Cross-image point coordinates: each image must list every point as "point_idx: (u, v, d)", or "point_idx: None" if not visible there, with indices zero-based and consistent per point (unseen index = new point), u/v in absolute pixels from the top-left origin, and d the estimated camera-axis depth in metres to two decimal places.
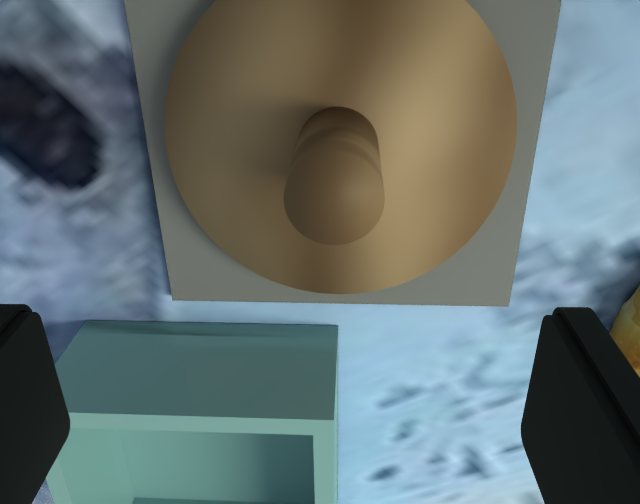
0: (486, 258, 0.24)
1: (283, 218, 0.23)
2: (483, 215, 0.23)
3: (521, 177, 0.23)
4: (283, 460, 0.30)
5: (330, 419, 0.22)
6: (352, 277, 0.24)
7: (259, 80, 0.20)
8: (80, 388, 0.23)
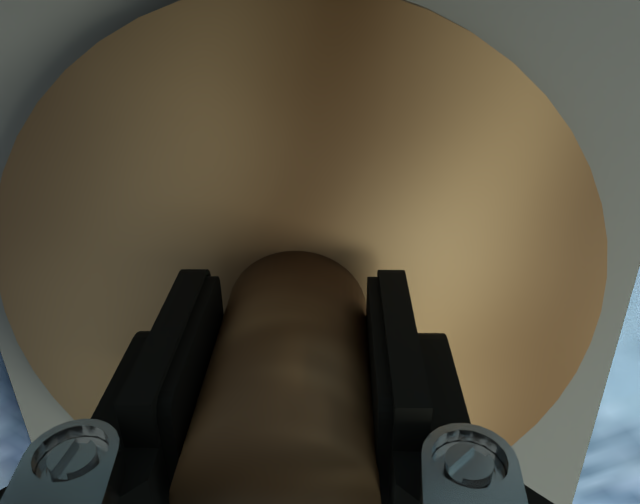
0: (537, 455, 0.15)
1: None
2: (541, 408, 0.14)
3: (601, 345, 0.14)
4: None
5: None
6: None
7: (154, 208, 0.12)
8: None
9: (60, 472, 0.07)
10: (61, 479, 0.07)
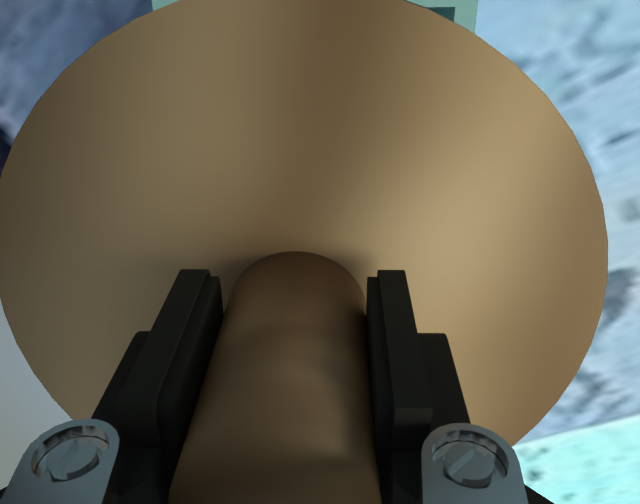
0: None
1: None
2: (541, 409, 0.14)
3: None
4: None
5: None
6: None
7: (154, 209, 0.11)
8: None
9: (60, 472, 0.07)
10: (61, 479, 0.07)
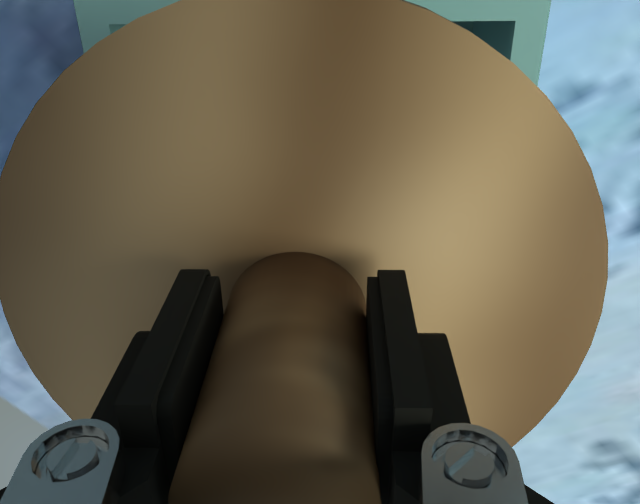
0: None
1: None
2: (541, 409, 0.14)
3: None
4: None
5: None
6: None
7: (154, 210, 0.11)
8: None
9: (60, 472, 0.07)
10: (61, 479, 0.07)
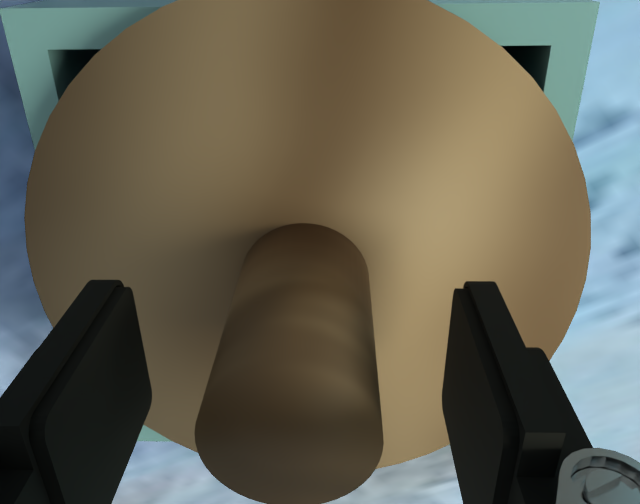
0: None
1: None
2: None
3: None
4: None
5: (591, 2, 0.11)
6: None
7: (174, 184, 0.13)
8: (106, 2, 0.13)
9: None
10: None
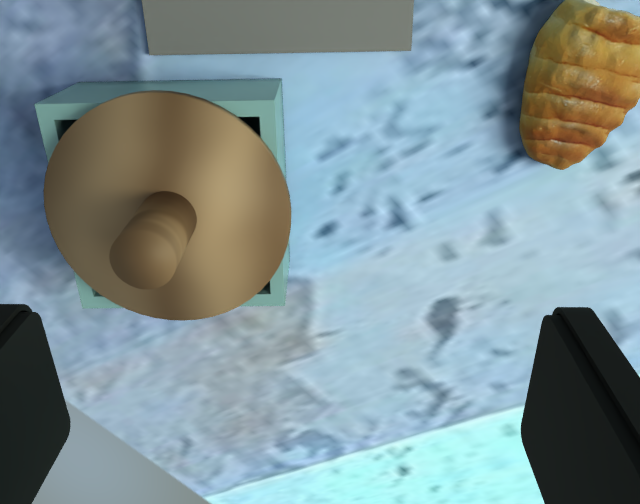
0: (390, 5, 0.32)
1: None
2: (278, 261, 0.32)
3: None
4: None
5: (271, 100, 0.29)
6: (192, 307, 0.33)
7: (108, 174, 0.30)
8: (78, 98, 0.30)
9: None
10: None
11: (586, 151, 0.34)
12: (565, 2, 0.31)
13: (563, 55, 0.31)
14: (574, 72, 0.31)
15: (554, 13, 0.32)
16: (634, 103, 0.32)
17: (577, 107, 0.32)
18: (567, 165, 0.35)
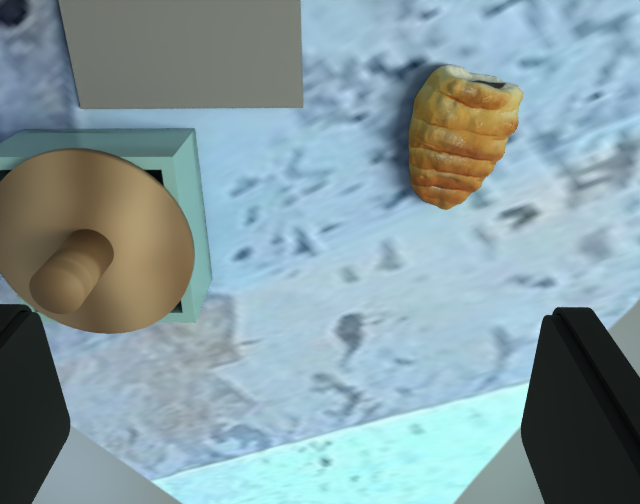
0: (282, 71, 0.37)
1: None
2: (184, 287, 0.38)
3: (294, 10, 0.36)
4: None
5: (170, 156, 0.35)
6: (115, 323, 0.39)
7: (38, 215, 0.36)
8: (14, 150, 0.36)
9: None
10: None
11: (464, 195, 0.39)
12: (434, 72, 0.36)
13: (432, 118, 0.36)
14: (441, 132, 0.36)
15: (427, 80, 0.37)
16: (499, 156, 0.38)
17: (448, 160, 0.37)
18: (449, 206, 0.40)
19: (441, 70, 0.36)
